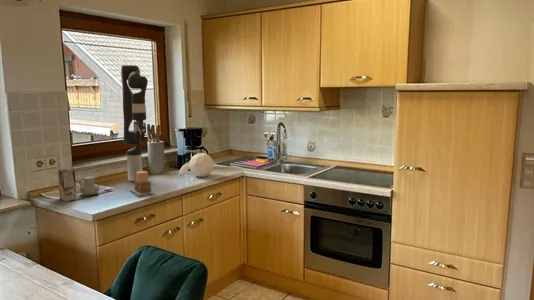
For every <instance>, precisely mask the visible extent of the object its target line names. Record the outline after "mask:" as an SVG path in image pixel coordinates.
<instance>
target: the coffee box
mask: <svg viewBox="0 0 534 300" xmlns="http://www.w3.org/2000/svg"><path fill="white" fill-rule="evenodd" d="M57 178H58V187H59V188H58V190H59V199H61V200H62V201H64V202H66V201H67V202H69V201H72V200H77V188H76V186H77V185H76V171H75V170H74V169H72V168H63V169H62V168H61V169H58V170H57Z"/></svg>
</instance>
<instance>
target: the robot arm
mask: <svg viewBox="0 0 534 300" xmlns="http://www.w3.org/2000/svg"><path fill="white" fill-rule="evenodd" d="M120 77H121V78H120V79H121V88H122V113H123V115H122V116H123V143H124V144H125V145H135V146H134V147H132V148H129V149H128V150H127V151H126V159H127V160H126V162H127V181H129V182H134V180H136V172H139V171H143V160H142V157H143V156H142V153H143V152H142V142H145V141H146V136H145V134H147V123H146V122H144V121H147V108H146V91H147V88H148V87H147V86H148V82H149V80H148V78H147V77H146V76H145V75H142V76H141V71H140V68H139V66H138V65H131V64H130V65H129V64H122V66H120ZM135 89H136V90H137V89H138V90H140V91H139V92H132V90H135ZM132 122H133V130H130V126H131V123H132Z"/></svg>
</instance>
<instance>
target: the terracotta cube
mask: <svg viewBox="0 0 534 300" xmlns="http://www.w3.org/2000/svg"><path fill="white" fill-rule="evenodd" d="M136 181H137V182H138V183H142V182H148V181H149V172H148V171H147V170H142V171H139V172H136Z"/></svg>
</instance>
